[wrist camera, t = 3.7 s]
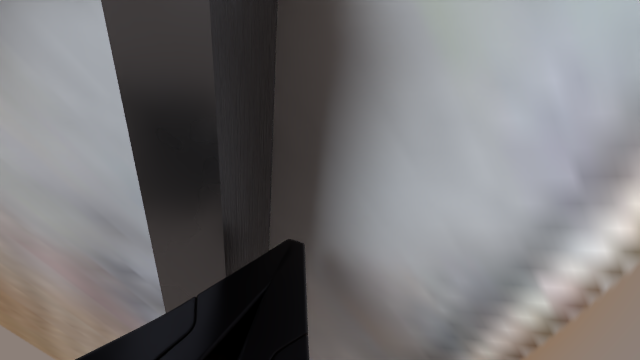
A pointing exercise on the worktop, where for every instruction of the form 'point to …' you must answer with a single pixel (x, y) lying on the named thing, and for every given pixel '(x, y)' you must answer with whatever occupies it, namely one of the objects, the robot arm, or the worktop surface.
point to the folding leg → (199, 130)
